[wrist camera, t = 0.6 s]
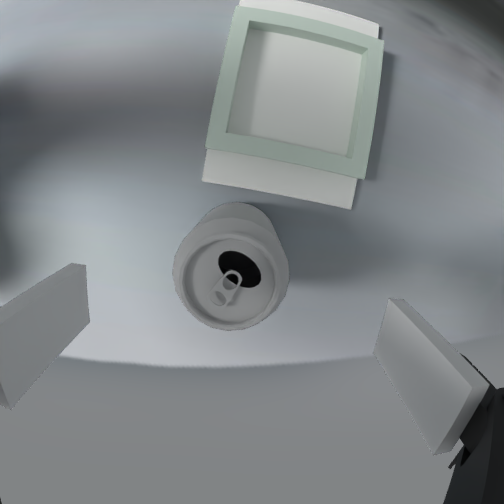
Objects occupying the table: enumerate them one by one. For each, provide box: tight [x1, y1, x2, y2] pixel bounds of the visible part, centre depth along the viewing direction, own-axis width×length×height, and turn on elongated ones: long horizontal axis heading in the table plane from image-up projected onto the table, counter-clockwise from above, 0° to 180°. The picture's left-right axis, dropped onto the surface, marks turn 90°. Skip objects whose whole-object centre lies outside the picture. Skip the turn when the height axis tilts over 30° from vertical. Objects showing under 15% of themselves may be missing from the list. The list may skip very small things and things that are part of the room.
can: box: [172, 202, 290, 331], centre depth 24 cm, size 8×8×12 cm
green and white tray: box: [202, 0, 384, 210], centre depth 25 cm, size 14×20×2 cm
